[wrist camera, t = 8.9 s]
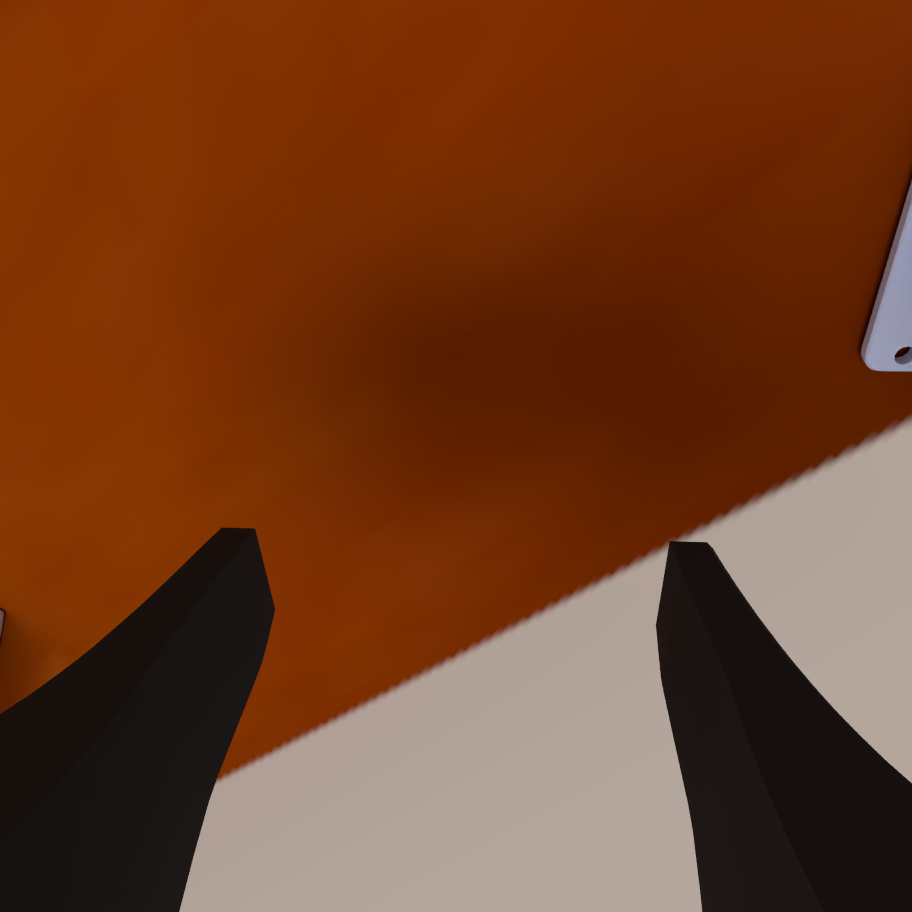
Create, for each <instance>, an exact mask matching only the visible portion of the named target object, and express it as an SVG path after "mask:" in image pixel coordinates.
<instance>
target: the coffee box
mask: <svg viewBox="0 0 912 912" xmlns="http://www.w3.org/2000/svg"><path fill="white" fill-rule="evenodd" d="M3 617H4V612H3V611H1V610H0V636H1V630H2V624H3Z"/></svg>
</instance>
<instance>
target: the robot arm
mask: <svg viewBox="0 0 912 912" xmlns="http://www.w3.org/2000/svg"><path fill="white" fill-rule="evenodd" d="M903 347H910V350H909V351H908V353H907V354H905V355H904V356H901V357H895V354H896V353H897V351H898V350H900V349H901V348H903ZM861 357H862V359H863V361H864V362H865V364H866V365H867V366H868V367H869V368H870V369H872V370H876V371H912V181H911V184H910V188H909V191H908V194H907V198H906V201H905V204H904V208H903V211H902V215H901V218H900V221H899V225H898V228H897V231H896V235H895V238H894V241H893V245H892V248H891V251H890V255H889V258H888V261H887V265H886V268H885V271H884V275H883V278H882V281H881V285H880V288H879V291H878V295H877V298H876V301H875V305H874V308H873V311H872V315H871V318H870V321H869V325H868V328H867V331H866V335H865V338H864V342H863V345H862V348H861ZM274 612H275V607H274V603H273V599H272V595H271V591H270V587H269V583H268V579H267V575H266V571H265V567H264V563H263V559H262V555H261V551H260V547H259V543H258V539H257V535H256V531H255V529H250V528H221V529H220V530H219V531H218V532H217V533H216V534H215V535H214V536H212V537H211V538H210V539H209V540H208V541H207V542H206V543H205V544H204V545H203V546H202V547H201V548H200V549H199V550H198V551H197V552H196V553H195V554H194V555H193V556H192V557H191V558H190V559H189V560H188V561H187V562H186V563H185V564H184V565H183V566H182V567H181V568H180V569H178V570H177V571H176V572H175V573H174V574H173V575H172V576H171V577H170V578H169V579H168V580H167V581H166V582H165V583H164V584H163V585H162V586H161V587H160V588H159V589H158V590H157V591H156V592H154V593H153V594H152V595H151V596H150V597H149V598H148V599H147V600H146V601H145V602H144V603H143V604H142V605H141V606H140V607H138V608H137V609H136V610H135V611H134V612H133V613H132V614H131V615H130V616H128V617H127V618H126V619H125V620H124V621H123V622H122V623H120V624H119V625H118V626H117V627H116V628H115V629H113V630H112V631H111V632H110V633H109V634H108V635H106V636H105V637H104V638H103V639H102V640H101V641H100V642H98V643H97V644H96V645H95V646H94V647H93V648H91V649H90V650H89V651H88V652H86V653H85V654H84V655H83V656H81V657H80V658H79V659H78V660H76V661H75V662H74V663H72V664H71V665H70V666H69V667H67V668H66V669H65V670H63V671H62V672H60V673H59V674H58V675H56V676H55V677H54V678H52V679H51V680H50V681H48V682H47V683H46V684H44V685H43V686H41V687H40V688H39V689H37V690H36V691H34V692H33V693H32V694H30V695H29V696H27V697H26V698H24V699H23V700H21V701H20V702H18V703H17V704H15V705H13V706H12V707H10V708H9V709H7V710H6V711H4V712H3V713H1V714H0V912H179V910H180V906H181V902H182V899H183V895H184V891H185V887H186V883H187V879H188V875H189V872H190V867H191V864H192V860H193V856H194V852H195V849H196V845H197V842H198V838H199V835H200V831H201V827H202V824H203V820H204V816H205V813H206V810H207V806H208V803H209V799H210V796H211V794H212V791H213V788H214V785H215V782H216V779H217V776H218V774H219V771H220V769H221V766H222V764H223V761H224V759H225V756H226V753H227V751H228V748H229V746H230V743H231V741H232V738H233V736H234V733H235V731H236V728H237V726H238V723H239V721H240V718H241V715H242V713H243V710H244V708H245V705H246V703H247V700H248V698H249V695H250V692H251V690H252V687H253V685H254V682H255V680H256V677H257V674H258V672H259V669H260V666H261V664H262V660H263V657H264V653H265V649H266V645H267V641H268V638H269V633H270V629H271V625H272V620H273V616H274ZM656 629H657V641H658V651H659V662H660V672H661V680H662V686H663V691H664V695H665V700H666V705H667V709H668V714H669V718H670V723H671V728H672V733H673V737H674V742H675V746H676V750H677V755H678V760H679V764H680V769H681V773H682V778H683V782H684V787H685V791H686V796H687V800H688V806H689V811H690V817H691V822H692V828H693V835H694V843H695V852H696V859H697V868H698V876H699V884H700V894H701V903H702V912H912V783H911V782H910V781H908V780H907V779H906V778H905V777H904V776H903V775H902V774H900V773H899V772H898V771H897V770H896V769H895V768H894V767H892V766H891V765H890V764H889V763H888V762H887V761H886V760H884V758H883V757H882V756H881V755H879V753H877V752H876V751H875V750H874V749H873V748H872V747H871V746H870V745H869V744H868V743H867V742H866V741H865V740H864V739H863V738H862V737H861V736H860V735H859V734H858V733H857V732H856V731H855V730H854V729H853V728H852V727H851V726H850V725H849V724H848V723H847V722H846V721H845V720H844V719H843V718H842V717H841V716H840V715H839V714H838V712H837V711H836V710H835V709H834V708H833V707H832V706H831V705H830V704H829V703H828V702H827V701H826V699H825V698H824V697H823V696H822V695H821V694H820V693H819V692H818V691H817V689H816V688H815V687H814V686H813V685H812V684H811V683H810V681H809V680H808V679H807V678H806V676H805V675H804V674H803V673H802V672H801V671H800V669H799V668H798V667H797V666H796V665H795V663H794V662H793V661H792V660H791V659H790V657H789V656H788V655H787V654H786V652H785V651H784V650H783V649H782V647H781V646H780V645H779V643H778V642H777V641H776V639H775V638H774V637H773V635H772V634H771V633H770V632H769V630H768V629H767V628H766V626H765V625H764V624H763V622H762V621H761V620H760V618H759V617H758V616H757V614H756V613H755V611H754V610H753V609H752V607H751V606H750V604H749V603H748V602H747V600H746V599H745V597H744V596H743V594H742V593H741V592H740V590H739V589H738V587H737V586H736V584H735V583H734V581H733V580H732V578H731V576H730V575H729V573H728V572H727V571H726V569H725V567H724V566H723V564H722V562H721V561H720V560H719V558H718V556H717V555H716V553H715V551H714V550H713V548H712V547H711V546H710V545H709V544H708V543H707V542H677V541H670V543H669V550H668V556H667V563H666V568H665V574H664V580H663V586H662V592H661V598H660V604H659V610H658V616H657V622H656Z"/></svg>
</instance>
